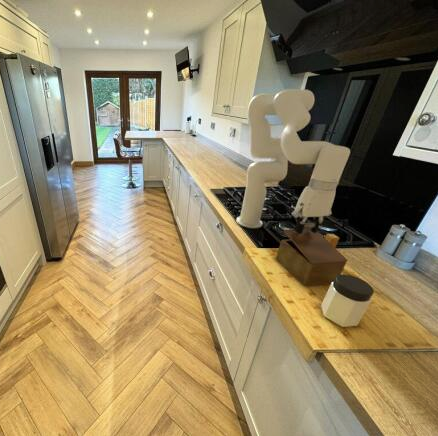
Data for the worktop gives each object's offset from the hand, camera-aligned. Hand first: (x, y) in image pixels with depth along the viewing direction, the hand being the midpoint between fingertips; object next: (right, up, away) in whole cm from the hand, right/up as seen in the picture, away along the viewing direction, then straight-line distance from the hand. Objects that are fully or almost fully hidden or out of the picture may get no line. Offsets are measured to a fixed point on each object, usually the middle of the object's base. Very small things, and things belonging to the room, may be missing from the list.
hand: (305, 231), depth 86 cm
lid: (+1, -5, -3) cm, 6 cm away
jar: (-2, -24, -17) cm, 30 cm away
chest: (+1, -15, +1) cm, 15 cm away
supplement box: (+14, -11, +9) cm, 20 cm away
